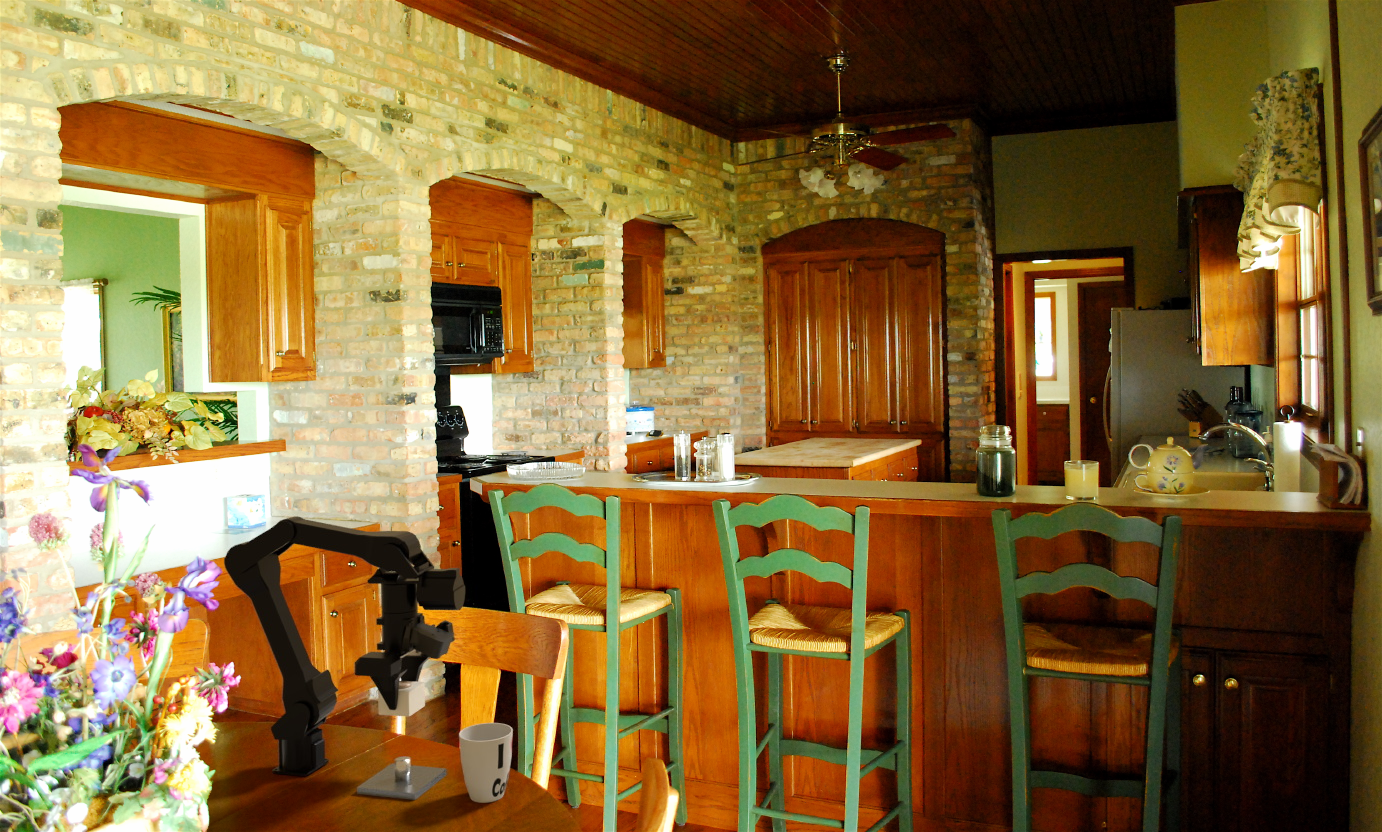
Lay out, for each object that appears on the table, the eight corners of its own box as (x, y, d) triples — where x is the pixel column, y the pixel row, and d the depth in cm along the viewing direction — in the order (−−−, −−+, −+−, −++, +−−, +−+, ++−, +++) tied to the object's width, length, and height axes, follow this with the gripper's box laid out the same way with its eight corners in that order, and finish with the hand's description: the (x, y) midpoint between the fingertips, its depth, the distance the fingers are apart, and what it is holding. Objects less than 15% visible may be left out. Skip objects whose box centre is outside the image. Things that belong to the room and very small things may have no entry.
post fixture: (357, 793, 152) (356, 768, 152) (391, 769, 162) (391, 745, 162) (415, 799, 150) (414, 774, 150) (446, 774, 159) (446, 750, 159)
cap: (378, 714, 159) (378, 687, 159) (395, 703, 164) (394, 677, 164) (409, 716, 158) (408, 689, 157) (425, 705, 163) (424, 679, 163)
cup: (501, 808, 146) (500, 742, 146) (450, 804, 148) (449, 739, 148) (521, 787, 154) (520, 724, 154) (473, 783, 156) (472, 721, 156)
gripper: (417, 625, 150) (419, 726, 150) (469, 599, 168) (471, 689, 168) (351, 622, 152) (353, 722, 152) (410, 597, 170) (411, 685, 171)
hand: (401, 703), depth 161 cm, fingers closed on cap, 5 cm apart
